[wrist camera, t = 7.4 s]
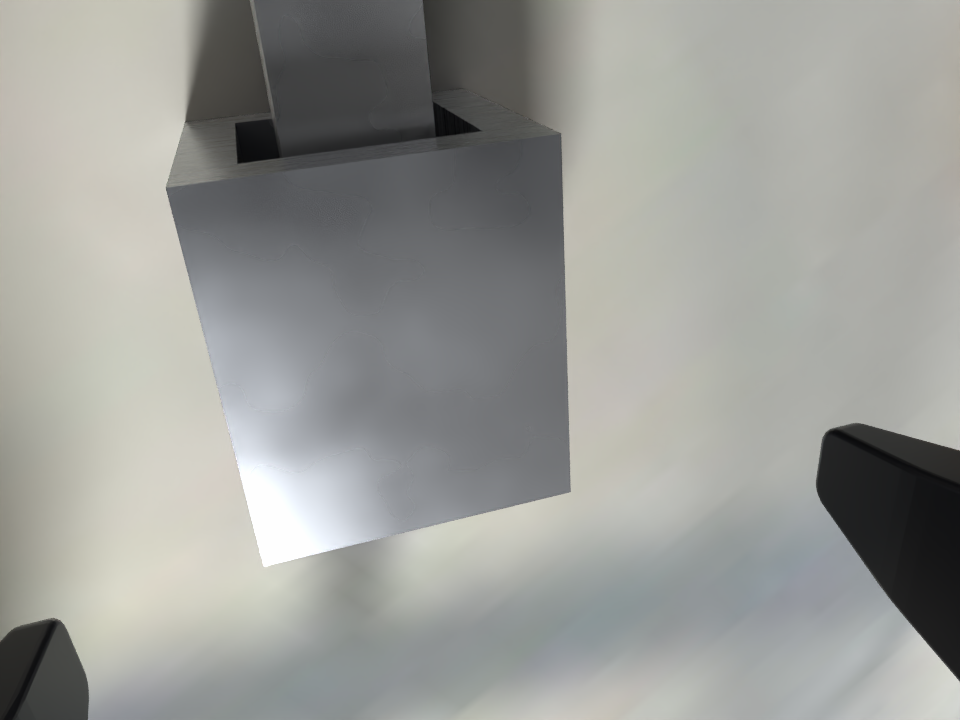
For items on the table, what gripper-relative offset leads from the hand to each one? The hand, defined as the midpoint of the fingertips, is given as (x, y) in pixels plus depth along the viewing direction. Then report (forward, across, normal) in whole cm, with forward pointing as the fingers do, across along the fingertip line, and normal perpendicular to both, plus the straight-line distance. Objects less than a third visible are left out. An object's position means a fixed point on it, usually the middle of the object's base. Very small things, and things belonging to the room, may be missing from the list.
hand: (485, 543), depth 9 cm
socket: (+11, 0, 0) cm, 11 cm away
